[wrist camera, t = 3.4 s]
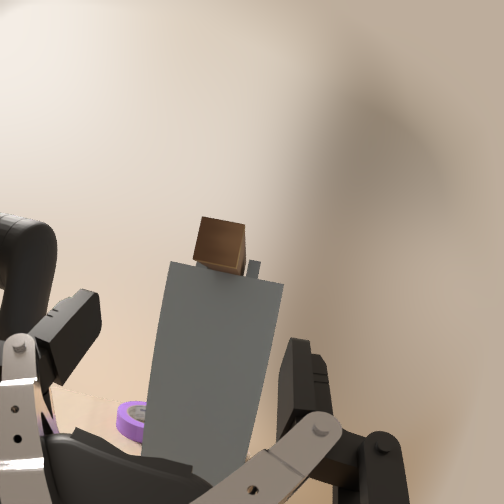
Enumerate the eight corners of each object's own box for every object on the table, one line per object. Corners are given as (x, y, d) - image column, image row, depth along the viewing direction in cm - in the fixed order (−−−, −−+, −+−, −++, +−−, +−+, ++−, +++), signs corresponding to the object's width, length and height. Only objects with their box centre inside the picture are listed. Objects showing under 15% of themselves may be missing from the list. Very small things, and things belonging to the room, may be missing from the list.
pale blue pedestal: (126, 530, 22) (160, 240, 26) (157, 469, 38) (192, 258, 42) (229, 554, 22) (300, 268, 26) (234, 486, 38) (280, 276, 42)
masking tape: (178, 448, 47) (181, 432, 47) (114, 439, 43) (115, 422, 44) (172, 421, 58) (174, 406, 58) (117, 412, 54) (119, 396, 55)
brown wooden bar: (192, 259, 17) (201, 215, 17) (224, 276, 41) (227, 258, 41) (236, 268, 17) (245, 224, 17) (242, 280, 41) (246, 262, 41)
